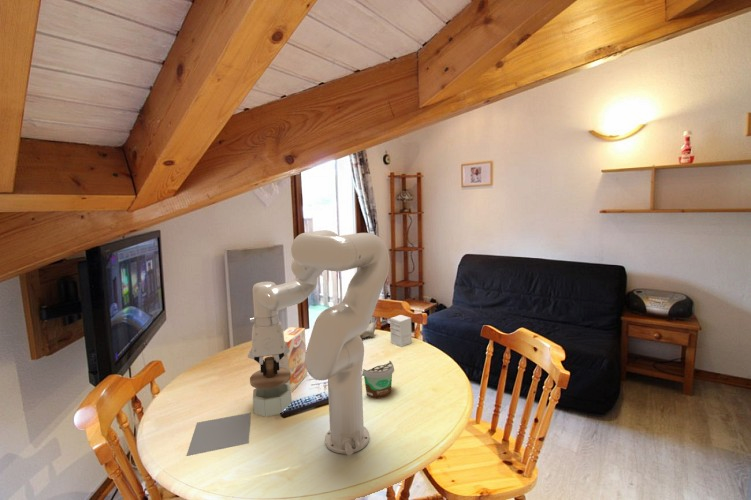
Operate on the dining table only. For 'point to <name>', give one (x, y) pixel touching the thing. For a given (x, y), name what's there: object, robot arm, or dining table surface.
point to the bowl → (271, 400)
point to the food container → (379, 380)
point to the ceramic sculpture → (369, 331)
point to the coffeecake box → (294, 355)
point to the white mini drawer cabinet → (400, 330)
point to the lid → (270, 376)
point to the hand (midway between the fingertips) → (270, 372)
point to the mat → (220, 434)
